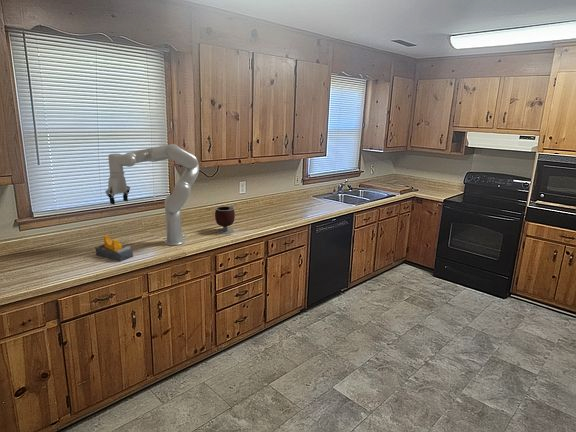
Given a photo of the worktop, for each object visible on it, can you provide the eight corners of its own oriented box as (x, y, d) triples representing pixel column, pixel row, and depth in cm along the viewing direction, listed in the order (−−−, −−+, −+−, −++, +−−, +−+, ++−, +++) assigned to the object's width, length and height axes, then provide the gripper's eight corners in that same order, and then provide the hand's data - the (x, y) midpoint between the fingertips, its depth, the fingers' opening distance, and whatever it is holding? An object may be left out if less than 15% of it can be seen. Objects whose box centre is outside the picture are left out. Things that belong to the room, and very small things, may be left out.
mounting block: (109, 250, 237) (108, 241, 235) (133, 256, 228) (132, 246, 227) (96, 255, 229) (95, 245, 228) (120, 261, 221) (119, 251, 219)
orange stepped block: (122, 249, 225) (121, 239, 224) (114, 251, 222) (113, 240, 220) (111, 244, 233) (110, 234, 231) (104, 246, 229) (103, 236, 228)
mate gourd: (219, 235, 272) (218, 207, 267) (212, 229, 284) (212, 203, 279) (239, 232, 279) (239, 205, 274) (232, 227, 291) (232, 201, 286)
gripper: (124, 172, 242) (126, 199, 246) (100, 175, 227) (102, 204, 231) (132, 173, 239) (134, 200, 243) (109, 177, 224) (111, 206, 228)
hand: (119, 202), depth 237 cm, fingers open, 9 cm apart
